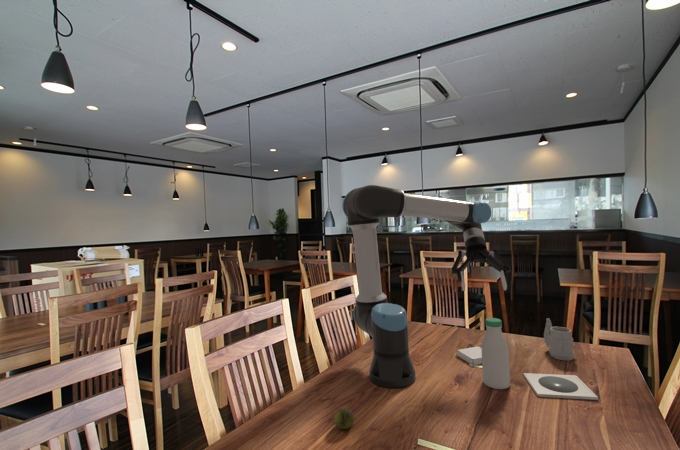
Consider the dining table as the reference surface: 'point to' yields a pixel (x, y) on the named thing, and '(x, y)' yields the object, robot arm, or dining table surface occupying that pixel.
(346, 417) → the lime
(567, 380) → the pad
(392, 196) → the robot arm
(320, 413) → the dining table surface
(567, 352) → the mug
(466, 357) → the white block with labels
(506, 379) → the milk bottle
